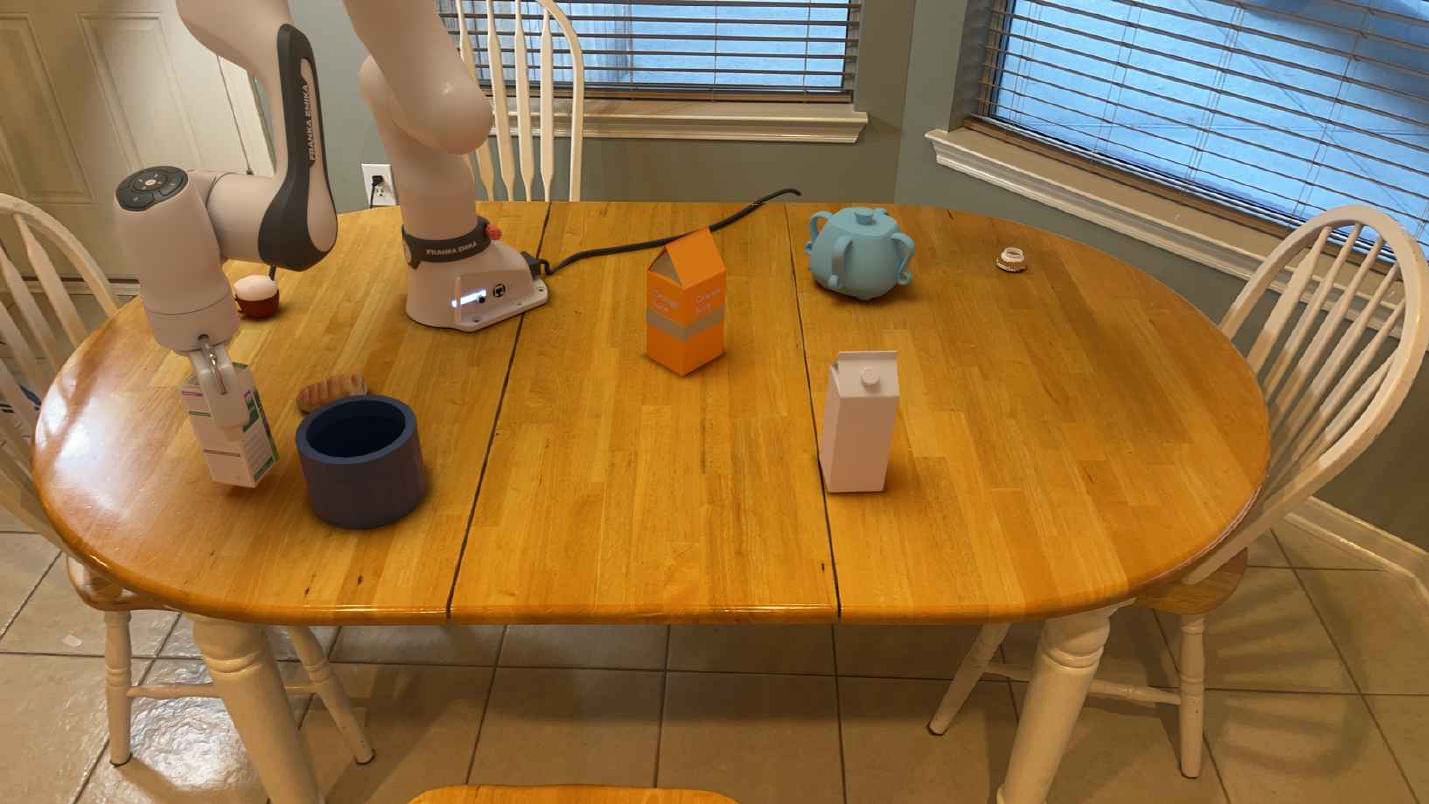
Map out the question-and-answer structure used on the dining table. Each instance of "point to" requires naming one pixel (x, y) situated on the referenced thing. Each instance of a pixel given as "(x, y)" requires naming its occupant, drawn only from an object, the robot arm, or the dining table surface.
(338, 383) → the pastry
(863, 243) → the decorative pot
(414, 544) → the dining table surface
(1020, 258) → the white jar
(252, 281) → the cocoa
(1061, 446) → the dining table surface
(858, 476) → the milk carton
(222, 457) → the syrup box
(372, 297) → the dining table surface
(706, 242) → the orange juice
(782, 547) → the dining table surface
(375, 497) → the dark blue bin
